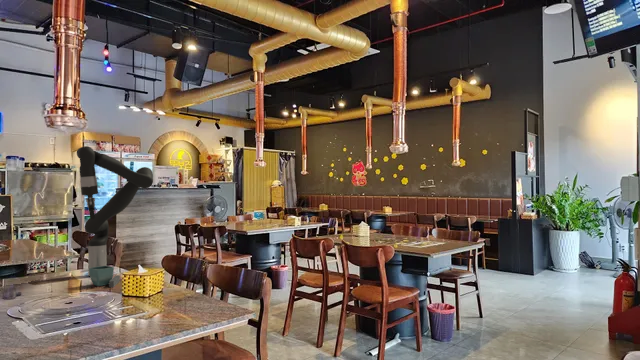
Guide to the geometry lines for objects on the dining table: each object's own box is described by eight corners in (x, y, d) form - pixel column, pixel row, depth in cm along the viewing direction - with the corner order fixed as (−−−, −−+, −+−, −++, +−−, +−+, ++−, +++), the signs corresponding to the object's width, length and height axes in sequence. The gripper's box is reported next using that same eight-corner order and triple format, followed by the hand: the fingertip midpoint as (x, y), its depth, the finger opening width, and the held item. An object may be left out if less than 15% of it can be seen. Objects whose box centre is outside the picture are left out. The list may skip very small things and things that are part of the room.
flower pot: (114, 284, 212) (114, 266, 212) (97, 287, 205) (97, 269, 205) (105, 282, 217) (105, 265, 217) (88, 285, 210) (88, 267, 210)
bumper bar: (109, 287, 204) (109, 281, 205) (115, 281, 220) (115, 275, 220) (113, 287, 205) (113, 281, 205) (119, 280, 220) (119, 275, 220)
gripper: (80, 185, 215) (84, 218, 217) (80, 186, 204) (84, 221, 205) (97, 184, 219) (100, 216, 220) (97, 185, 207) (101, 219, 209)
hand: (92, 218), depth 213 cm, fingers closed
